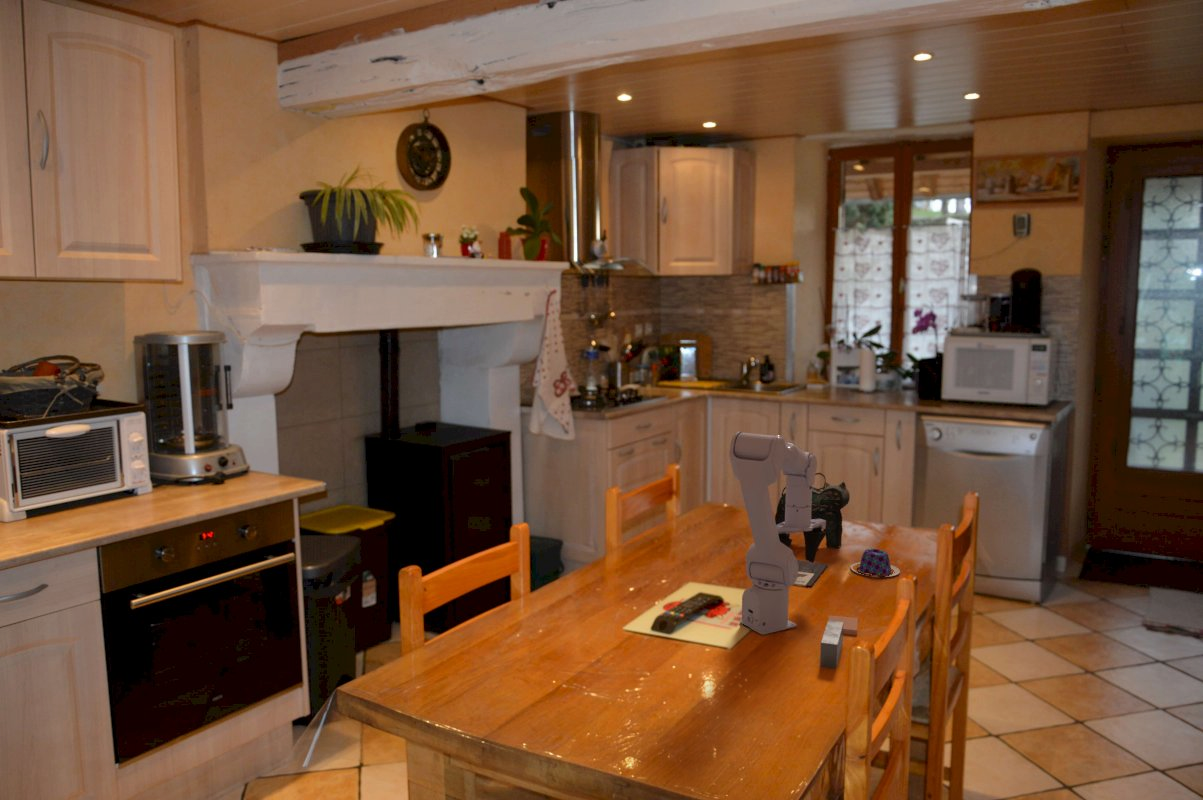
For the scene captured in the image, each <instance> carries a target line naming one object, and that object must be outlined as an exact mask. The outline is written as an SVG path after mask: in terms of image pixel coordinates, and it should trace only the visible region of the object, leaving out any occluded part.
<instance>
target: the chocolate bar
mask: <svg viewBox="0 0 1203 800" xmlns="http://www.w3.org/2000/svg"><path fill="white" fill-rule="evenodd" d="M796 560H797V561H798V576H797V579H796V581H795V583H794V584H793V585H792V586H795V585H797V586H796V587H802V586H805V587H804V588H808V587H810V588H811V587H812V588H813V586H814V585H815V584H816V582H817V581H818V580H819V579H820V577H821V576H822V575H823V574H824V572H825V571H826V569H827V568H828V567H829V564H828V563H822V562H815V561H814V562H810V561H807V560H800V559H796ZM827 566H828V567H827ZM824 570H825V571H824ZM821 574H822V575H821ZM820 575H821V576H820ZM814 583H815V584H814Z"/></svg>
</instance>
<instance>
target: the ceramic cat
mask: <svg viewBox="0 0 1203 800" xmlns="http://www.w3.org/2000/svg"><path fill="white" fill-rule="evenodd" d="M816 475H821V476H822V477H823V479H824V485H823V487H820V488H817V487H815V486H814V487H813V486H812V507H811V519H822V520H825V521H826V528H825V529H822V531H825V540H826V541H825V547H826V546H827V547H826V548H831V547H834V548H833V549H836V548H837V549H839V548H840V547H841V546H842V539H843V530H844V529H843V516H842V511H841V510H842V509H843V508H844V507H846V506H848V504H849V502H850V499H851V498H850V496H851V495H850V491H849V490H848V489H847V485H846V483H845V482H844V481H842V482H841V483H840V484H839V485H832V484H830V483H828V482H827V481H826V476H825V475H824V473H822V472H816V473H815V476H816ZM784 491H786V486H785V487H784V488H783V489H782V492H781V494H780V495H781V497H780V498H779V500H778V501H779V502H778V503H777V507H776V513H775V514H774V518H775V522H776V525H778V524H780V523H783V522H785V501H786V492H784ZM790 535H791V534H786V536H788V537H787V538H789V539H790V537H791V536H790ZM839 546H840V547H839ZM838 547H839V548H838Z"/></svg>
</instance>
